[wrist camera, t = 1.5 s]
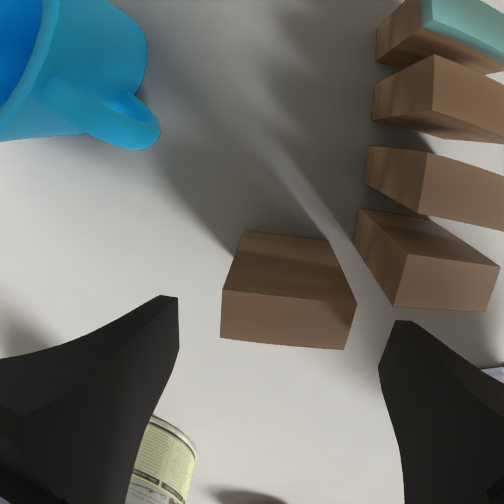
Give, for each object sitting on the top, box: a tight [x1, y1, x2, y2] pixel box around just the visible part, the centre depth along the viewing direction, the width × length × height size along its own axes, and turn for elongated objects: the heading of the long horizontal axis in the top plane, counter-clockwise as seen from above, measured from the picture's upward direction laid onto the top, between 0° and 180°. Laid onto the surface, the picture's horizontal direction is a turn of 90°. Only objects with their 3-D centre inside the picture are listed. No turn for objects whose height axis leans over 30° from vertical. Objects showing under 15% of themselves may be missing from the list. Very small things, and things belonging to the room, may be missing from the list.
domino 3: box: [371, 54, 504, 144], centre depth 11 cm, size 2×5×7 cm, turn 84°
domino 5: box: [353, 208, 500, 312], centre depth 13 cm, size 2×5×7 cm, turn 85°
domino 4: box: [363, 146, 504, 232], centre depth 12 cm, size 2×5×7 cm, turn 85°
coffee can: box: [125, 416, 197, 504], centre depth 18 cm, size 10×10×14 cm
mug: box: [0, 0, 160, 150], centre depth 11 cm, size 12×8×8 cm
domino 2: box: [375, 0, 504, 75], centre depth 9 cm, size 2×5×7 cm, turn 85°
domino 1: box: [220, 231, 357, 350], centre depth 14 cm, size 2×5×7 cm, turn 85°
